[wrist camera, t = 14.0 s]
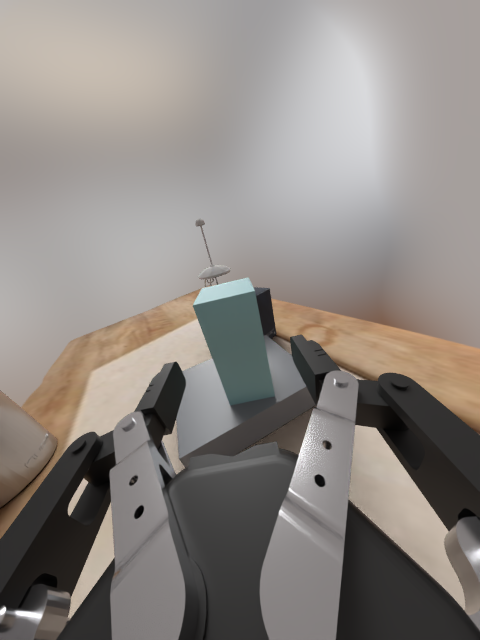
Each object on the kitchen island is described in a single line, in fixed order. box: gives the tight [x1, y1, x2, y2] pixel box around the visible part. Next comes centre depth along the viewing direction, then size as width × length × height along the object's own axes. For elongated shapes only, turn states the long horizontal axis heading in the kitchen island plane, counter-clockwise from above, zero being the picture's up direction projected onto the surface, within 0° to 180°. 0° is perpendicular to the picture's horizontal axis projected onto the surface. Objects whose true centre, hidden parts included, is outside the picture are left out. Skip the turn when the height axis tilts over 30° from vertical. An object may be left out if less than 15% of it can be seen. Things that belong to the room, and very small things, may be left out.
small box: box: [253, 287, 276, 339], centre depth 36 cm, size 11×6×10 cm, turn 45°
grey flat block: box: [176, 335, 316, 468], centre depth 23 cm, size 16×12×4 cm
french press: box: [196, 219, 231, 287], centre depth 42 cm, size 10×12×25 cm
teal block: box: [193, 278, 275, 405], centre depth 18 cm, size 5×5×12 cm
